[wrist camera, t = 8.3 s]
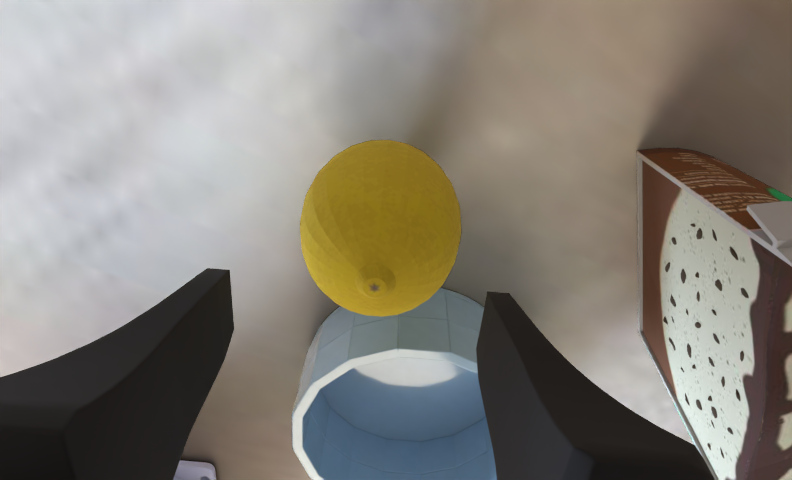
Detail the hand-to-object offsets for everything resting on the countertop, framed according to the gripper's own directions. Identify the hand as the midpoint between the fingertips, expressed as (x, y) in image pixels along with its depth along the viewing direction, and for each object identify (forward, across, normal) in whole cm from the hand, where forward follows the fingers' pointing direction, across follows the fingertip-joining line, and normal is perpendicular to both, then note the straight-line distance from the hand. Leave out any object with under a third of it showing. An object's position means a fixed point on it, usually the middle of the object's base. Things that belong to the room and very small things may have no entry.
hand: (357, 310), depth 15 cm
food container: (+9, -15, +1) cm, 17 cm away
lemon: (+9, 0, 0) cm, 9 cm away
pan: (+9, -2, +10) cm, 13 cm away
